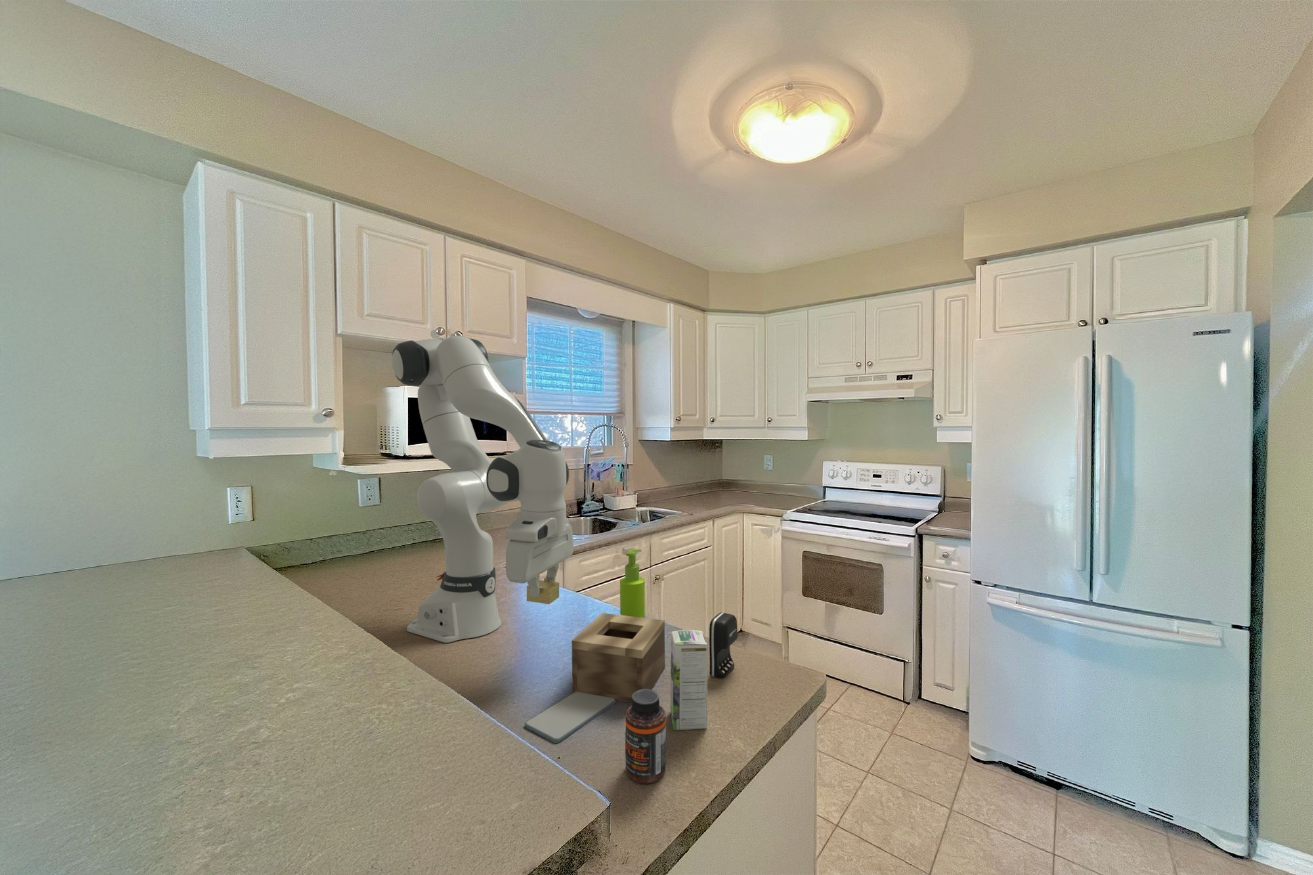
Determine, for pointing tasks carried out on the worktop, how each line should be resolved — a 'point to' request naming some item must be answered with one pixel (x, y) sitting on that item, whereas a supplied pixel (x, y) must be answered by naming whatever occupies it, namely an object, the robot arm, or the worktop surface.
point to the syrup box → (689, 679)
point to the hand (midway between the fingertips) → (542, 590)
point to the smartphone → (568, 715)
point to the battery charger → (721, 644)
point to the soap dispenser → (632, 589)
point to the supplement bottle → (645, 737)
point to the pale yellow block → (545, 592)
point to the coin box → (618, 656)
